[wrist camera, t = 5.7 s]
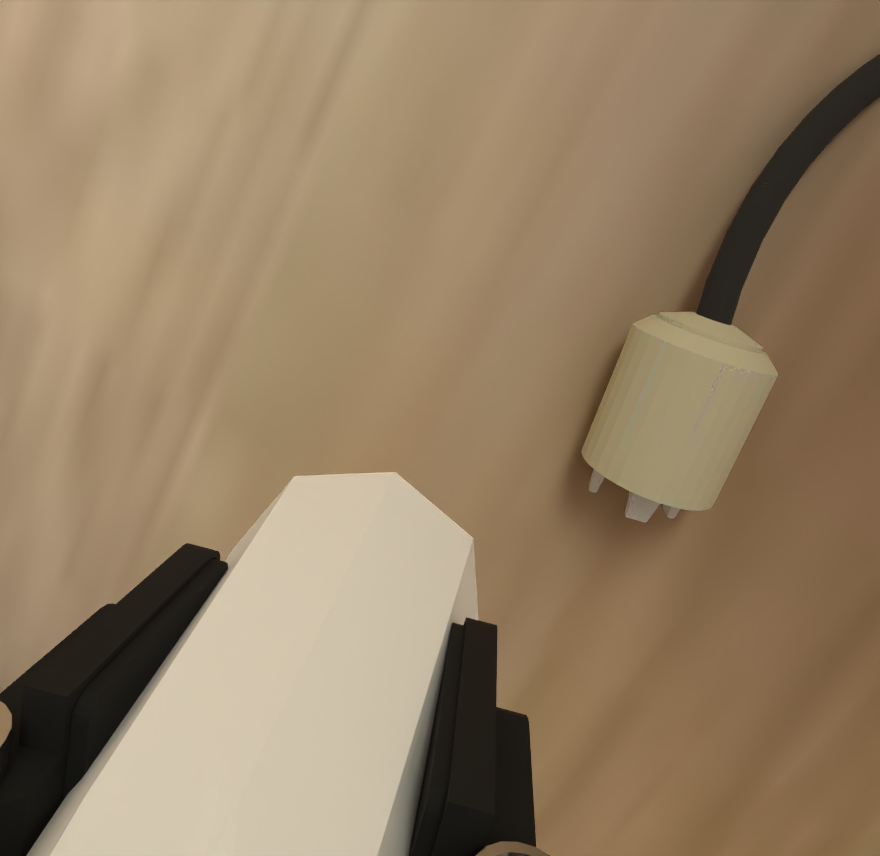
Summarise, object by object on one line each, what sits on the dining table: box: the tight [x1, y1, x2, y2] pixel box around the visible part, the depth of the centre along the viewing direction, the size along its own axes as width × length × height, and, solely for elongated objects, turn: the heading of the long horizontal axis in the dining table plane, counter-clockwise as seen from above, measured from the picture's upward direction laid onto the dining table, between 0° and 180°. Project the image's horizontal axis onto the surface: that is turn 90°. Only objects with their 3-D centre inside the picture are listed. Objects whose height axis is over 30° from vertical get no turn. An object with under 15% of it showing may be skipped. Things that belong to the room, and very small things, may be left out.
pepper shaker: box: [26, 472, 479, 856], centre depth 8 cm, size 5×5×11 cm
